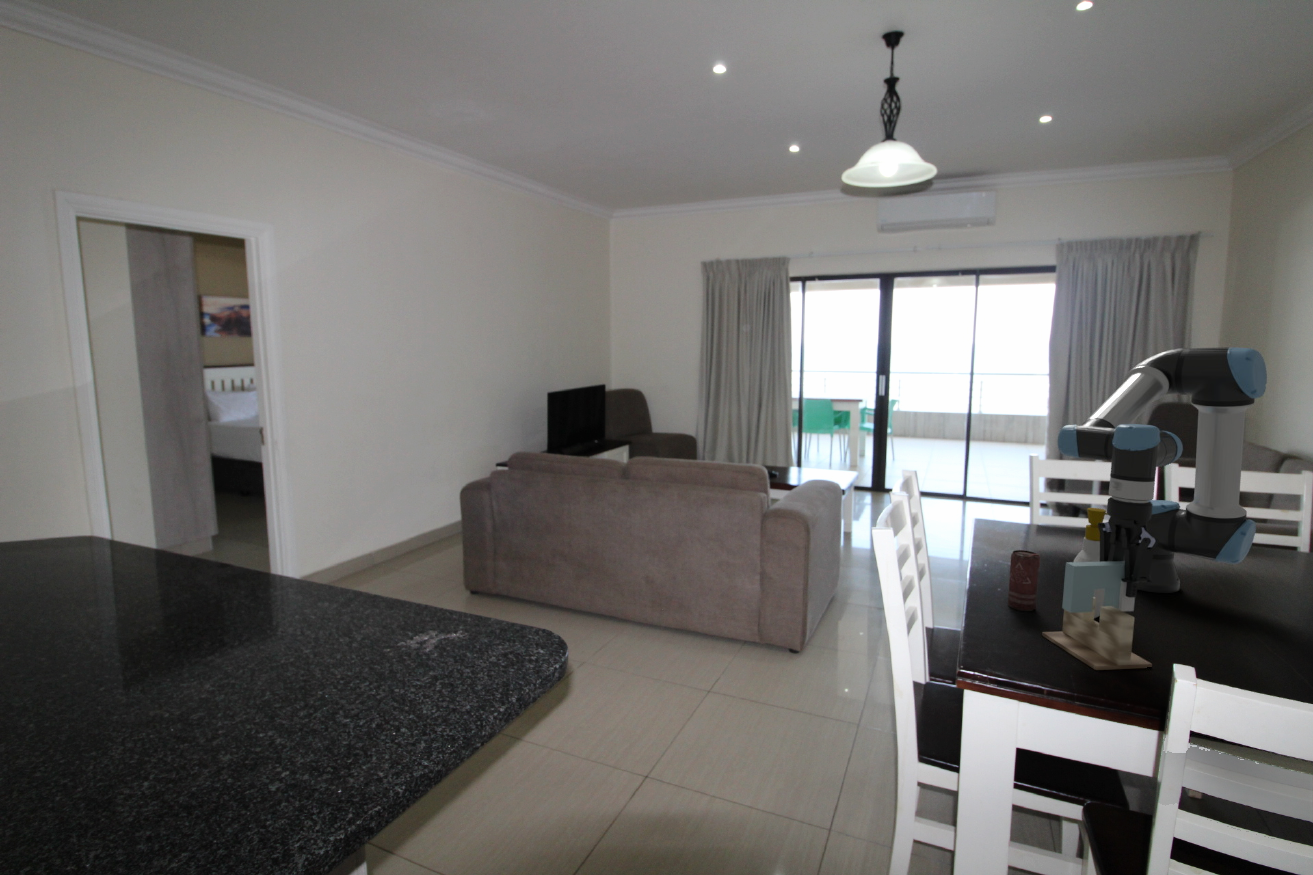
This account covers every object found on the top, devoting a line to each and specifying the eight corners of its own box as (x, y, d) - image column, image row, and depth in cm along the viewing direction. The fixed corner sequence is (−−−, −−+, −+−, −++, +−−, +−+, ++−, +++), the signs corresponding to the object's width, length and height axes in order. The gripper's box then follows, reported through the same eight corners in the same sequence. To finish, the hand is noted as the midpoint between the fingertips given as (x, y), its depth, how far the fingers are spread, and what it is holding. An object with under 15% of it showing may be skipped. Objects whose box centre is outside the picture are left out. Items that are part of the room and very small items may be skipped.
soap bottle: (1109, 627, 148) (1119, 517, 145) (1063, 617, 154) (1072, 511, 151) (1114, 608, 159) (1124, 506, 156) (1072, 600, 165) (1080, 501, 162)
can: (1040, 612, 157) (1044, 557, 155) (1012, 610, 158) (1016, 555, 157) (1031, 603, 163) (1035, 550, 161) (1004, 601, 164) (1007, 548, 162)
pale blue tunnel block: (1124, 606, 137) (1128, 560, 136) (1133, 610, 135) (1138, 564, 134) (1062, 607, 136) (1065, 562, 135) (1070, 612, 134) (1074, 566, 133)
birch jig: (1042, 635, 144) (1045, 589, 143) (1092, 633, 145) (1096, 587, 144) (1095, 669, 129) (1100, 618, 127) (1151, 667, 130) (1156, 616, 128)
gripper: (1085, 491, 141) (1076, 594, 143) (1144, 507, 125) (1132, 623, 128) (1117, 491, 141) (1107, 593, 144) (1180, 507, 126) (1167, 622, 129)
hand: (1119, 607), depth 136 cm, fingers closed on pale blue tunnel block, 2 cm apart
